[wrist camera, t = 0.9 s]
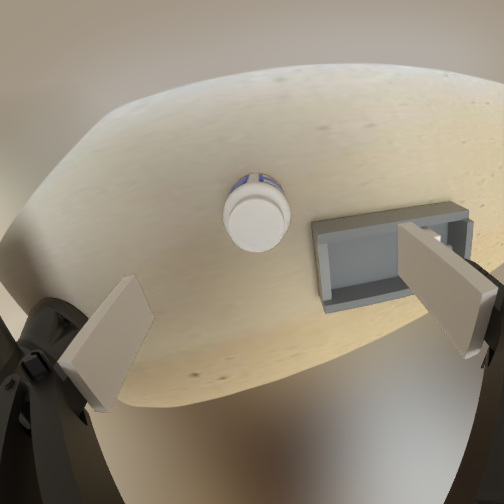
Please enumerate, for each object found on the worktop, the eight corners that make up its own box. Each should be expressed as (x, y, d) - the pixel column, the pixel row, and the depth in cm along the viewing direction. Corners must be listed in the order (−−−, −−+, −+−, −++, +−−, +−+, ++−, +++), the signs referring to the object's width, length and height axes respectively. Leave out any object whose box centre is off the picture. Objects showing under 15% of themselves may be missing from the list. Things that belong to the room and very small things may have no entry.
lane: (319, 295, 33) (326, 319, 29) (311, 222, 30) (319, 238, 25) (447, 268, 31) (466, 285, 27) (451, 201, 28) (474, 212, 23)
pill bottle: (235, 227, 30) (224, 267, 21) (226, 176, 28) (209, 196, 19) (287, 220, 30) (298, 258, 21) (280, 168, 28) (289, 184, 19)
